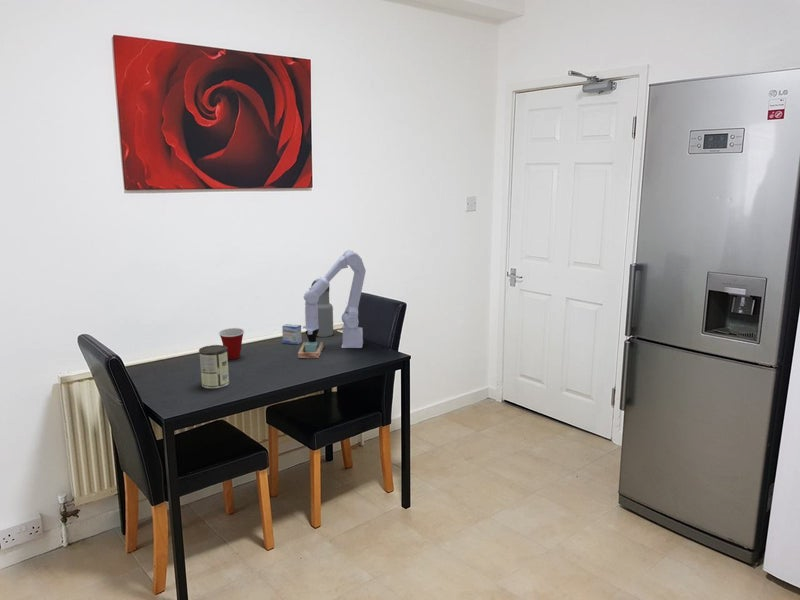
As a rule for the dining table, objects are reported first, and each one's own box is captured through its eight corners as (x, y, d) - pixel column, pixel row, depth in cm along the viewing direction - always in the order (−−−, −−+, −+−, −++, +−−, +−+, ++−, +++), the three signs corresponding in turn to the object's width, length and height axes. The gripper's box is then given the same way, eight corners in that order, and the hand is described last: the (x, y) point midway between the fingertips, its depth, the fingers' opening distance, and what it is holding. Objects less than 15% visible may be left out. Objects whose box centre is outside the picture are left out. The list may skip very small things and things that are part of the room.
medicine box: (282, 343, 295) (281, 325, 294) (286, 341, 300) (286, 323, 298) (297, 344, 293) (297, 326, 291) (301, 342, 297) (301, 324, 296)
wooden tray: (323, 347, 289) (323, 342, 288) (318, 358, 271) (318, 353, 271) (303, 347, 289) (303, 342, 288) (297, 358, 271) (297, 353, 270)
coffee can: (205, 379, 243) (203, 344, 240) (232, 379, 243) (230, 344, 241) (197, 388, 233) (195, 352, 230) (225, 388, 233) (223, 352, 231)
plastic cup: (217, 361, 267) (215, 334, 265) (223, 354, 278) (221, 328, 275) (242, 361, 267) (241, 334, 265) (248, 354, 278) (246, 327, 276)
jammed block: (317, 349, 285) (317, 341, 284) (316, 352, 280) (316, 344, 279) (306, 349, 285) (306, 341, 284) (305, 352, 280) (305, 344, 279)
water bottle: (312, 337, 306) (310, 281, 301) (313, 332, 316) (311, 277, 310) (333, 337, 307) (331, 280, 301) (333, 332, 316) (332, 277, 311)
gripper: (305, 313, 290) (306, 341, 293) (300, 320, 276) (301, 350, 279) (320, 313, 290) (321, 341, 293) (316, 320, 276) (317, 350, 279)
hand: (312, 345), depth 286 cm, fingers closed
